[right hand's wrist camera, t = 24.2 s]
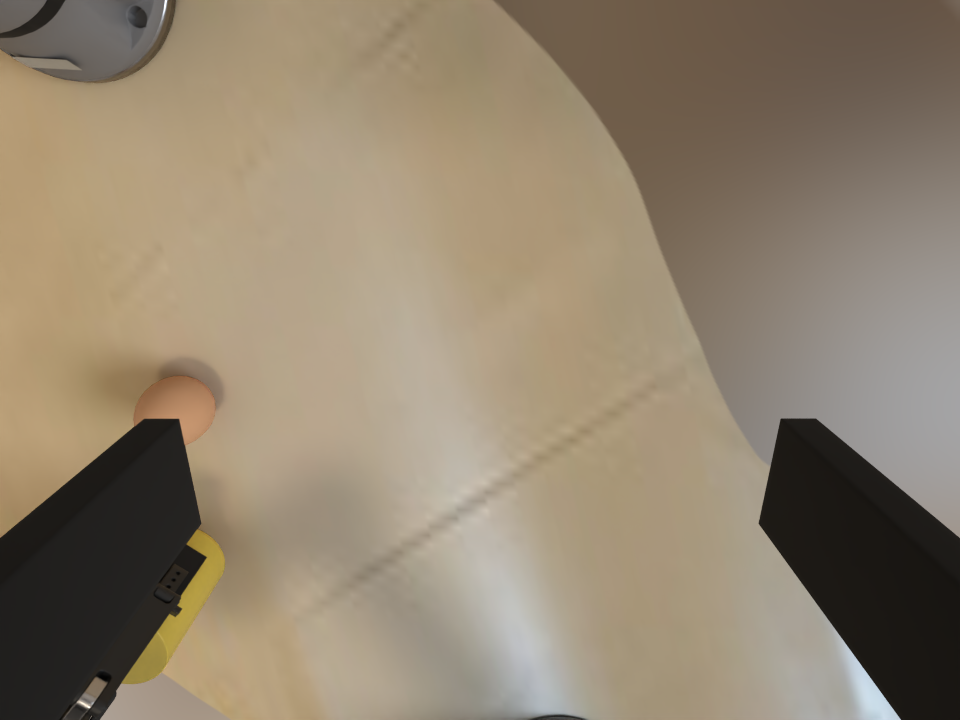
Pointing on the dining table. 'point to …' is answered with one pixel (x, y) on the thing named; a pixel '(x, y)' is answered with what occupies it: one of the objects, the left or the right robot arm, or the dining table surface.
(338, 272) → the dining table surface
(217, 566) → the can
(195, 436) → the egg
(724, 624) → the dining table surface
